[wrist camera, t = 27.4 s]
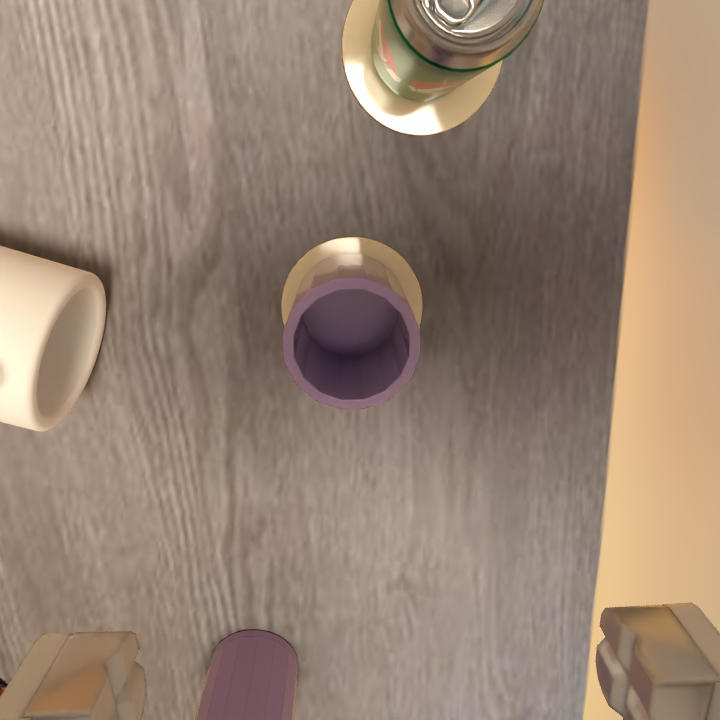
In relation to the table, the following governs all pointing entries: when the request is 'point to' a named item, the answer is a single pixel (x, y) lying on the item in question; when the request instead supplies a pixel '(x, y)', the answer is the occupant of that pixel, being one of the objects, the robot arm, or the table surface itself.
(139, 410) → the table surface
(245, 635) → the purple hollow cylinder
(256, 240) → the table surface
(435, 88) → the soda can
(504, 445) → the table surface
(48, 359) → the mug
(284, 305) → the coasters
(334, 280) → the purple tumbler
